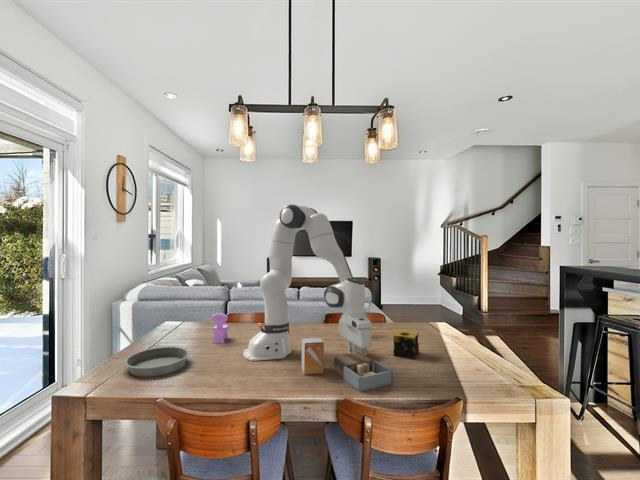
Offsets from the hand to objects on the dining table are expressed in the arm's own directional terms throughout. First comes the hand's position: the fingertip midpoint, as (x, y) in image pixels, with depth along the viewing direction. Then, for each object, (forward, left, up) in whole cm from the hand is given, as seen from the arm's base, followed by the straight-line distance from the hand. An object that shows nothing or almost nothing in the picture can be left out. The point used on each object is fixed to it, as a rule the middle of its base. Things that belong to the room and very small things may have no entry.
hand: (352, 352), depth 139 cm
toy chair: (-41, +65, -9) cm, 78 cm away
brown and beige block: (+1, +1, -8) cm, 8 cm away
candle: (+34, +7, -9) cm, 36 cm away
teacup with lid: (+14, +18, -8) cm, 24 cm away
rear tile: (+1, -5, -5) cm, 7 cm away
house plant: (+30, +41, -8) cm, 51 cm away
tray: (+1, -10, -8) cm, 13 cm away
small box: (-14, +8, -8) cm, 18 cm away
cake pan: (-71, +41, -9) cm, 83 cm away
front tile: (+1, -11, -5) cm, 12 cm away
